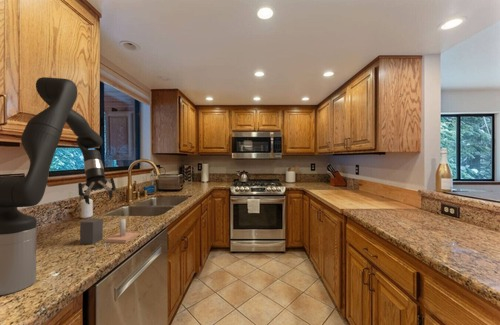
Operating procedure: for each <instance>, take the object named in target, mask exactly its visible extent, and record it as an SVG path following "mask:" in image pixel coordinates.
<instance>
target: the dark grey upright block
mask: <svg viewBox="0 0 500 325" xmlns="http://www.w3.org/2000/svg"><path fill="white" fill-rule="evenodd" d="M103 220H104V219H103V218H89V219H85V220H82V221H79V224H80V226H79V232H80V233H79V245H95V244H96V243H98V242H100V241H102V240H103V238H104V236H103V232H104V229H103V228H104V227H103V226H104V223H103V222H104V221H103Z"/></svg>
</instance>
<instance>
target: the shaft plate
mask: <svg viewBox="0 0 500 325" xmlns="http://www.w3.org/2000/svg"><path fill="white" fill-rule="evenodd" d="M126 222H127V221H126V218H121V219H119V232H117V233H115V234H113V235H110V236H109V237H107V238H105V239H104V240H105V241H104V242H105V243H108V244H109V243H110V244H114V243H115V244H127V243H129V242H130V241H132V240H134V239H136V238H137V237H139V232H129V231H128V232H127V231H126V228H127V227H126V226H127V225H126Z"/></svg>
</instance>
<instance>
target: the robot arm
mask: <svg viewBox="0 0 500 325" xmlns="http://www.w3.org/2000/svg"><path fill="white" fill-rule="evenodd" d="M35 88H36V92H37V95H39V97H40V98H41V99H42V100H43V102H45V103H46V104H47V105H48V107H46V108H45V109H44V110H42V111H40V112H39V113H37V114H36V115H34V116H33V117H32V118H30V119H29V120H28V122H27V123H26V125H25V127H24V130H23V132H22V134H21V137H20V141H21V145H22V147H23V150H24V151H25V152H26V155H27V156H28V160H29V166H28V167H29V168H28V171H27V173H26V175H25V176H0V296H4V295H10V294H14V293H17V292H20V291H22V290H25V289H26V288H28V287H29V288H30V287H31V286H33V285H34V284H35V282H36V281H37V226H38V224H37V223H38V222H37V218H36V217H34V216H32V215H28V214H25V213H22V212H21V211H20V210H19V209H18V208H29V207H30V208H31V207H34V206H37V205H39V203H40V202H41V201H42V200H43V197H44V196H45V192H46V188H47V183H48V180H49V175H50V169H51V166H52V162H53V159H54V157H55V153H56V150H57V148H58V145H59V143H60V140H61V138H62V137H61V136H62V133H63V130H64V127H65V124H67V125H68V127H69V128H70V130H71V131H72V133H73V134H74V135H75V136H76V139H75V142H76V144H77V146H78V148H79V150H80V152H81V154H82V157H83V164H84V165H83V167H84V174H85V175H84V176H85V180H86V182H84V183H81V182H79V183H78V184H77V187H78V195H79V197H81V198H82V197H84V202H85V204H86V205H90V196H89V195H90V194H91V193H92V192H93V191H94V192H95V191H99V190H101V191H102V189H103V190H105V191H107V192H108V196H109V200H110V201H111V200H112V199H113V198H114V195H113V191H116V189H117V188H116V182H115V181H114V178H113V177H110V178H108V179H107V178H106V173H105V168H104V164H103V160H102V155H101V152H100V150H97V149H95V148H99V147H101V146H102V145H103V143H104V141H103V138H102V137H101V136H100V134H98V132H96V131H95V130H94V129H93V128H92V127H91V126H90V124H89V123H88V120H87V119H86V118H85V117H84V116H83V115H81V114H80V113H79V112H77V111H76V110H74V109H73V107H74V105H75V104H76V101H77V98H78V87H77V85H76V83H75V82H74V81H73V80H71V79H67V78H61V77H49V76H48V77H46V76H42V77H39V78H38V79H37V80H36V82H35ZM108 183H109V184H111V187H110V186H108V185H107V184H108ZM85 187H87V189H86V190H85V192H84V190H83V189H84V188H85Z"/></svg>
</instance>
